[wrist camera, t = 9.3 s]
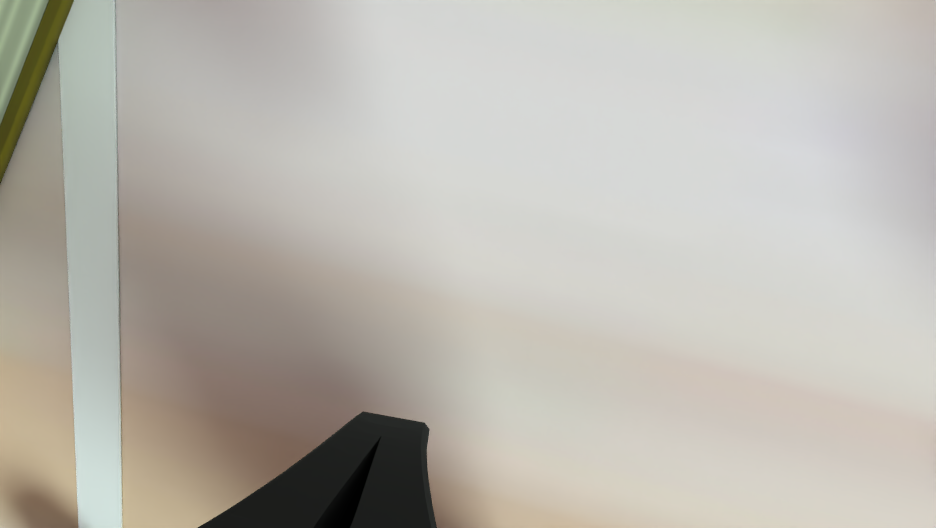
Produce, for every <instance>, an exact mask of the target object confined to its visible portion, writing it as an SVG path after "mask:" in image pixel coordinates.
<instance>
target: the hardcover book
mask: <svg viewBox="0 0 936 528" xmlns="http://www.w3.org/2000/svg"><path fill="white" fill-rule="evenodd" d="M73 2H74V0H0V183H1V181H2V178H3V176H4V173H5V171H6V168H7V166H8V163H9V161H10V158H11V156H12V153H13V151H14V148H15V146H16V143H17V141H18V139H19V136H20V134H21V131H22V129H23V126H24V124H25V121H26V119H27V116H28V114H29V111H30V109H31V106H32V104H33V101H34V99H35V96H36V94H37V91H38V89H39V86H40V84H41V81H42V79H43V76H44V74H45V71H46V69H47V66H48V64H49V62H50V59H51V57H52V54H53V52H54V49H55V47H56V44H57V42H58V39H59V37H60V34H61V32H62V29H63V27H64V24H65V22H66V19H67V17H68V14H69V12H70V9H71V7H72V4H73Z"/></svg>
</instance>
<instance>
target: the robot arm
mask: <svg viewBox="0 0 936 528" xmlns="http://www.w3.org/2000/svg"><path fill="white" fill-rule="evenodd" d="M428 436H429V428H428V427H427V425H426V424H425V423H423V422H417V421H412V420H406V419H401V418H395V417H389V416H384V415H378V414H373V413H367V412H362V413H360V414H359V415H357V416H356V417H355V418H353V419H352V420H351V421H350V422H348V423H347V424H346V425H345V426H343V427H342V428H341V429H340V430H338V431H337V432H336V433H335V434H333V435H332V436H331V437H330V438H328V439H327V440H326V441H325V442H323V443H322V444H321V445H319V446H318V447H317V448H316V449H314V450H313V451H312V452H310V453H309V454H308V455H306V456H305V457H303V458H302V459H301V460H299V461H298V462H297V463H295V464H294V465H293V466H291V467H290V468H289V469H287V470H286V471H285V472H283V473H282V474H280V475H279V476H278V477H276V478H275V479H273V480H272V481H270V482H269V483H267V484H266V485H264V486H263V487H261V488H260V489H258V490H257V491H255V492H254V493H252V494H251V495H249V496H248V497H246V498H245V499H243V500H242V501H240V502H239V503H237V504H236V505H234V506H233V507H231V508H230V509H228V510H226V511H225V512H223V513H221V514H220V515H218V516H217V517H215V518H213V519H212V520H210V521H208V522H207V523H205V524H203V525H201V526H200V527H198V528H437V527H436V522H435V517H434V512H433V506H432V500H431V493H430V487H429V480H428V471H427V443H428Z"/></svg>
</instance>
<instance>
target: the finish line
mask: <svg viewBox="0 0 936 528" xmlns="http://www.w3.org/2000/svg"><path fill="white" fill-rule="evenodd" d="M58 49H59V73H60V97H61V121H62V144H63V168H64V192H65V216H66V240H67V263H68V287H69V311H70V335H71V358H72V382H73V406H74V430H75V454H76V477H77V501H78V525H79V528H122V469H121V400H120V331H119V261H118V192H117V123H116V54H115V0H74V2H73V4H72V7H71V9H70V12H69V14H68V17H67V19H66V22H65V24H64V27H63V29H62V32H61V34H60V37H59V39H58Z"/></svg>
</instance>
